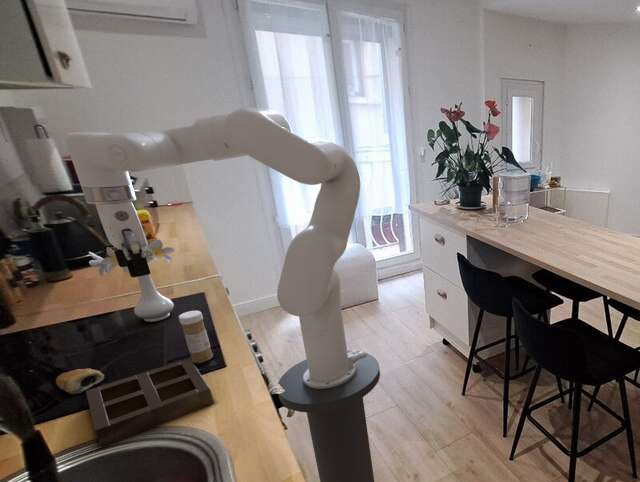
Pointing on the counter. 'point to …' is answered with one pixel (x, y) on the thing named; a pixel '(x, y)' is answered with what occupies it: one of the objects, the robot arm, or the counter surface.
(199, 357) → the sprinkles bottle
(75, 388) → the pastry
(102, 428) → the compartment tray
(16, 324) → the counter surface
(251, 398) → the counter surface
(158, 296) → the flower vase
